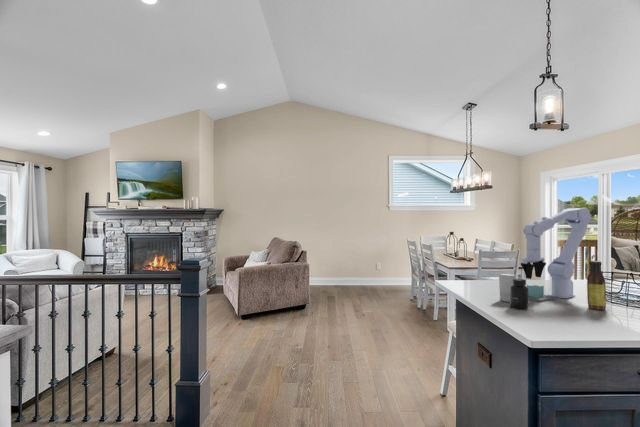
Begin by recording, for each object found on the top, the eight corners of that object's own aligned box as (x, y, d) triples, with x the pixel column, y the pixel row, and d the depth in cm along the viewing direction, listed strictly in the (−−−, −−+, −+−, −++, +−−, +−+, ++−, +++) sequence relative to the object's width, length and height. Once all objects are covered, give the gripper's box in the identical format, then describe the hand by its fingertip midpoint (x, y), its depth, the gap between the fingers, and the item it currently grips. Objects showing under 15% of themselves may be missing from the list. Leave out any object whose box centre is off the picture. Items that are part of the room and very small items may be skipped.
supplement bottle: (510, 308, 155) (510, 280, 155) (510, 305, 161) (510, 277, 161) (528, 310, 151) (528, 281, 151) (528, 306, 157) (528, 278, 157)
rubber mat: (530, 294, 181) (530, 292, 181) (555, 299, 171) (555, 297, 171) (515, 297, 176) (515, 294, 176) (540, 302, 165) (540, 300, 165)
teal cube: (533, 294, 177) (533, 284, 177) (543, 296, 172) (543, 285, 172) (526, 295, 174) (526, 285, 174) (537, 297, 170) (537, 286, 170)
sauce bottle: (609, 311, 150) (609, 262, 150) (592, 310, 151) (591, 262, 151) (600, 307, 156) (600, 260, 156) (584, 306, 158) (583, 260, 158)
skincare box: (517, 301, 167) (516, 274, 167) (512, 302, 164) (512, 275, 164) (503, 298, 172) (503, 273, 172) (498, 300, 169) (498, 274, 169)
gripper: (533, 247, 181) (534, 275, 181) (516, 249, 174) (516, 277, 174) (548, 248, 174) (548, 277, 175) (530, 250, 167) (530, 280, 167)
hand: (533, 277), depth 174 cm, fingers open, 7 cm apart
